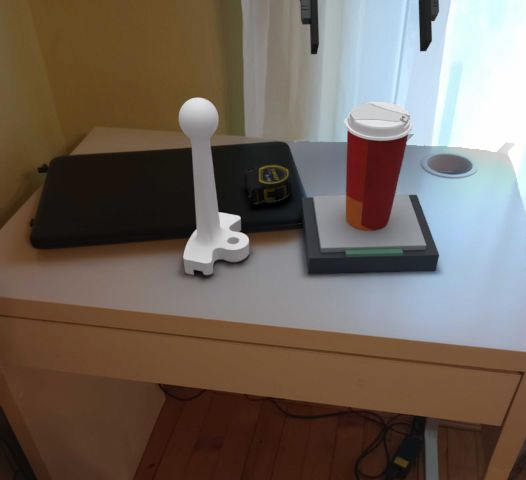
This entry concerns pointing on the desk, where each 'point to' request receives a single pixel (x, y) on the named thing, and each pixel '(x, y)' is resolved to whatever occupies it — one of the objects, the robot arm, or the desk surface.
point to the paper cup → (374, 162)
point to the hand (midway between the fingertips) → (370, 48)
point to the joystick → (208, 196)
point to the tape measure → (268, 183)
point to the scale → (366, 238)
